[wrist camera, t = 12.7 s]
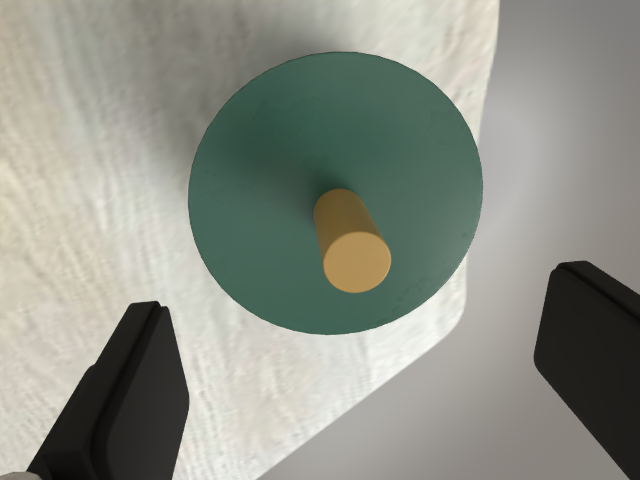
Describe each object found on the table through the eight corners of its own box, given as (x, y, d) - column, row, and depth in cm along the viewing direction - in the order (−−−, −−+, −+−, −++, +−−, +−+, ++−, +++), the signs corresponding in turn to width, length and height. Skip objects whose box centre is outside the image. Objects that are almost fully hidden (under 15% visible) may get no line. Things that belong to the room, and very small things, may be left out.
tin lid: (167, 61, 17) (105, 59, 11) (487, 43, 18) (586, 34, 12) (216, 332, 22) (192, 427, 17) (460, 311, 23) (519, 395, 17)
